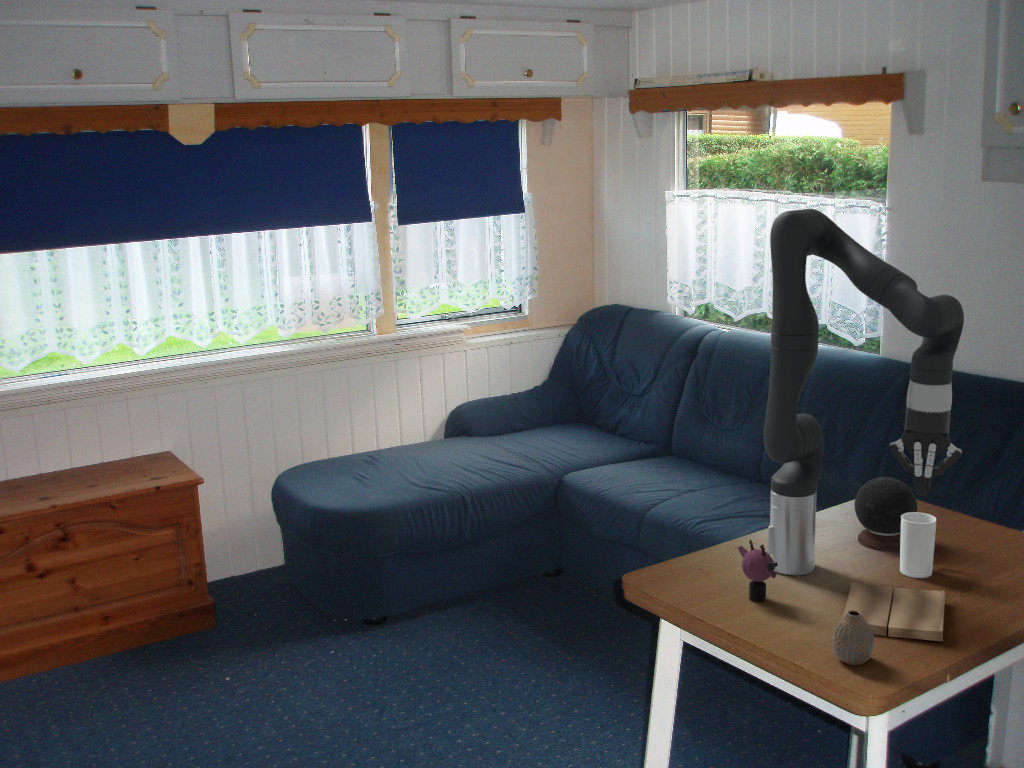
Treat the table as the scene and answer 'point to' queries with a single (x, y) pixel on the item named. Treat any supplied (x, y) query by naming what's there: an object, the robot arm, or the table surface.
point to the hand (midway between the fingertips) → (921, 494)
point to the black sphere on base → (883, 512)
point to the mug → (917, 544)
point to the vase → (853, 639)
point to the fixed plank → (871, 605)
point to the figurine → (757, 570)
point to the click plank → (917, 614)
